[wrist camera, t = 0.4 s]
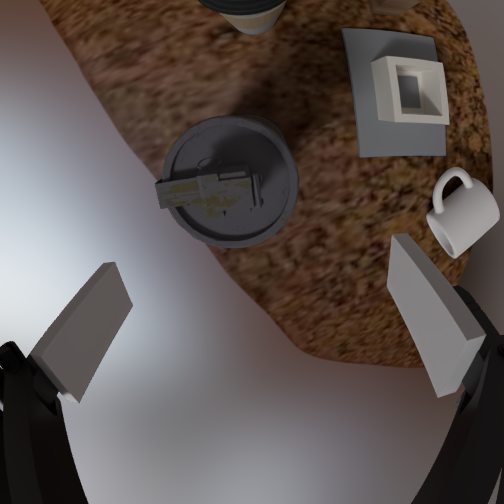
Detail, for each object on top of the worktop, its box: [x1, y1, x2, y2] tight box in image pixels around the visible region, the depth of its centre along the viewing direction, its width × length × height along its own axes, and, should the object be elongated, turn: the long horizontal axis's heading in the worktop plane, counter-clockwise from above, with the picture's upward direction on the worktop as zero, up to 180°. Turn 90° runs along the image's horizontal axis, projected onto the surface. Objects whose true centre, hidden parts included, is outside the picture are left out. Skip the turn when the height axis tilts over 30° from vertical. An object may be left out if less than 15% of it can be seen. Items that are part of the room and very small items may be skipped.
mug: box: [426, 167, 500, 258], centre depth 33 cm, size 12×10×8 cm
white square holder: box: [371, 56, 449, 125], centre depth 27 cm, size 8×8×6 cm
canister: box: [155, 114, 299, 248], centre depth 27 cm, size 11×10×20 cm
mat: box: [341, 28, 446, 157], centre depth 30 cm, size 18×14×1 cm
